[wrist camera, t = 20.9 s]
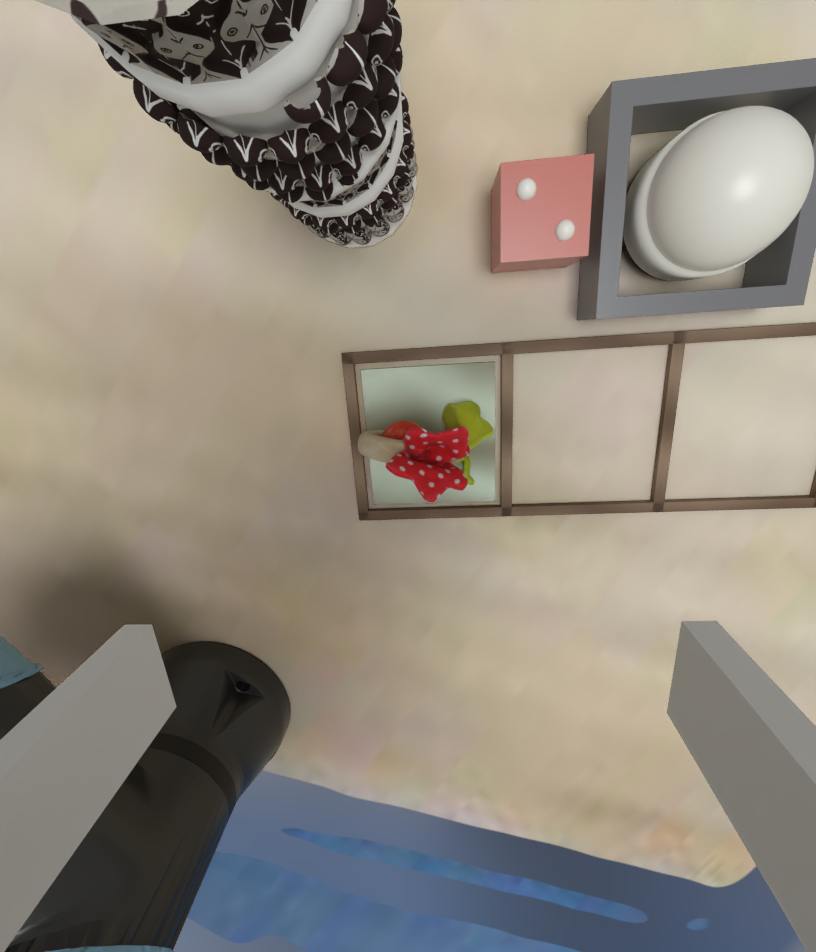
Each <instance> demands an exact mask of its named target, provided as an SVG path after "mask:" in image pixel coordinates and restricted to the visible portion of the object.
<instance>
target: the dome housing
mask: <svg viewBox="0 0 816 952" xmlns="http://www.w3.org/2000/svg"><path fill="white" fill-rule="evenodd" d="M745 106H767V107H772V108H776V109H779V110H782V111H784V112H786V113H788V114H790V115H791V116H792V117H794V118H795V119H796V120H797V121H798V122H799V123H800V124H801V125H802V126H803V127H804V129H805V130H806V132H807V133H808V135H809V138H810V140H811V143H812V146H813V151H814V173H813V178H812V182H811V186H810V189H809V192H808V195H807V197H806V199H805V201H804V203H803V205H802V207H801V209H800V211H799V212H798V214H797V215H796V217H795V218H794V220H793V221H792V222H791V223H790V225H789V226H788V227H787V229H786V230H785V231H784V232H783V233H782V234H781V235H780V236H779V237H778V238H777V239H776V240H775V241H773V242H772V243H771V244H770V245H769V246H767V247H766V248H765V249H764V250H762V251H761V252H759V253H758V254H756V255H755V256H754V257H752V258H751V259H750V260H748V261H747V263H746V269H745V275H744V281H743V287H742V288H734V289H721V290H707V291H693V292H679V293H665V294H651V295H637V296H623V297H618V287H619V275H620V263H621V251H622V238H623V226H624V214H625V202H626V190H627V178H628V165H629V153H630V141H631V135H632V134H641V133H651V132H661V131H670V130H680V129H686V128H687V127H689V126H690V125H692V124H693V123H695V122H697V121H698V120H700V119H702V118H704V117H707V116H709V115H712V114H715V113H718V112H722V111H727V110H731V109H734V108H739V107H745ZM815 248H816V58H811V59H803V60H794V61H785V62H777V63H768V64H759V65H751V66H742V67H734V68H725V69H716V70H708V71H699V72H690V73H682V74H673V75H664V76H656V77H647V78H638V79H630V80H621V81H612V83H611V84H610V86H609V87H608V88H607V90H606V91H605V93H604V94H603V96H602V97H601V99H600V100H599V102H598V103H597V105H596V106H595V107H594V109H593V110H592V112H591V113H590V115H589V116H588V133H587V151H586V154H585V155H575V156H565V157H555V158H545V159H535V160H525V161H516V162H506V163H501V164H500V167H499V170H498V173H497V175H496V178H495V181H494V184H493V187H492V190H491V273H500V272H513V271H525V270H538V269H551V268H563V267H567V266H569V265H571V264H573V263H575V262H577V261H579V260H580V277H579V295H578V313H577V320H590V319H604V318H619V317H634V316H649V315H663V314H678V313H693V312H708V311H723V310H737V309H752V308H767V307H782V306H796V305H804V300H805V295H806V291H807V286H808V281H809V276H810V272H811V267H812V262H813V257H814V252H815Z"/></svg>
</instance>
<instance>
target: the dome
mask: <svg viewBox="0 0 816 952" xmlns="http://www.w3.org/2000/svg"><path fill="white" fill-rule="evenodd" d="M813 173H814V151H813V146H812V143H811V140H810V138H809V135H808V133H807V132H806V130H805V129H804V127H803V126H802V125H801V124H800V123H799V122H798V121H797V120H796V119H795V118H794V117H792V116H791V115H790V114H788V113H786V112H784V111H782V110H779V109H776V108H772V107H767V106H745V107H739V108H734V109H731V110H727V111H722V112H718V113H715V114H712V115H709V116H707V117H704V118H702V119H700V120H698V121H697V122H695V123H693V124H692V125H690V126H689V127H687V128H686V129H685V130H684V131H682V132H681V133H680V134H679V135H677V136H676V137H675V138H674V139H673V140H671V141H670V142H669V143H668V144H667V145H665V146H664V147H663V148H662V149H660V150H659V151H658V152H657V153H656V154H654V155H653V156H652V157H651V158H650V159H649V160H648V161H647V162H646V163H645V165H644V166H643V167H642V168H641V170H640V171H639V173H638V174H637V176H636V177H635V179H634V181H633V183H632V185H631V186H630V189H629V191H628V194H627V196H626V202H625V214H624V226H623V238H624V242H625V245H626V248H627V250H628V252H629V254H630V256H631V258H632V259H633V260H634V262H635V263H636V264H637V265H638V266H639V267H640V268H641V269H642V270H643V271H645V272H646V273H648V274H649V275H652V276H654V277H656V278H659V279H663V280H668V281H683V280H690V279H695V278H700V277H705V276H710V275H715V274H719V273H723V272H726V271H729V270H731V269H734V268H736V267H738V266H740V265H742V264H743V263H745V262H747V261H748V260H750V259H751V258H752V257H754V256H755V255H756V254H758V253H759V252H761V251H762V250H764V249H765V248H766V247H767V246H769V245H770V244H771V243H772V242H773V241H775V240H776V239H777V238H778V237H779V236H780V235H781V234H782V233H783V232H784V231H785V230H786V229H787V227H788V226H789V225H790V223H791V222H792V221H793V220H794V218H795V217H796V215H797V214H798V212H799V211H800V209H801V207H802V205H803V203H804V201H805V199H806V197H807V195H808V192H809V189H810V186H811V182H812V178H813Z"/></svg>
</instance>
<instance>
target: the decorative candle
mask: <svg viewBox="0 0 816 952" xmlns="http://www.w3.org/2000/svg"><path fill="white" fill-rule="evenodd" d="M36 1H38V2H41V3H43V4H46V5H49V6H51V7H54V8H56V9H59V10H62V11H64V12H67V13H69V14H71V16H72V18H73V19H74V21H75V22H76V23H77V24H78V25H79V26H80V27H81V28H83V29H84V30H85V31H86V32H87V33H88V34H89V35H90V36H91V37H92V38H93V39H94V40H95V41H96V42H97V43H98V45H99V47H100V50H101V52H102V54H103V56H104V58H105V59H106V61H107V62H108V64H109V65H110V66H111V67H112V68H113V69H114V70H115V71H116V72H117V73H118V74H119V75H121V76H123V77H125V78H128V79H134V81H133V90H134V94H135V97H136V99H137V101H138V103H139V104H140V106H141V107H142V108H143V109H144V110H145V112H146V113H147V114H149V115H150V116H151V117H152V118H154V119H155V120H157V121H159V122H162V123H166V124H167V125H168V126H169V127H170V128H171V129H172V130H173V131H175V132H177V133H178V134H180V136H181V138H182V140H183V141H184V142H185V143H186V144H187V145H188V146H190V147H191V148H193V149H195V150H197V151H200V152H201V153H202V155H203V156H204V157H205V159H206V160H207V161H209V162H210V163H213V164H216V165H229V166H231V167H232V170H233V172H234V173H235V174H236V176H238V177H239V178H240V179H242V180H245V181H246V182H247V183H248V185H249V186H250V187H251V188H253V189H256V190H266V191H269V192H271V195H272V196H273V198H275V199H276V200H278V201H280V202H282V204H283V205H284V206H285V207H287V208H289V210H290V212H291V214H292V215H293V216H294V217H295V218H296V219H300V220H301V222H302V223H303V224H304V225H307V226H308V227H309V229H310V230H311V231H312V232H314V233H316V234H317V235H318V236H319V237H321V238H325V239H326V240H328V241H331V242H334V243H336V244H339V245H342V246H344V247H347V248H357V247H370V246H374V245H375V244H377V243H379V242H381V241H382V240H384V239H386V238H388V237H389V236H391V235H393V234H394V233H395V231H396V230H397V229H398V227H399V226H400V225H401V223H402V222H403V221H404V220H405V218H406V217H407V216H408V214H409V212H410V208H411V205H412V202H413V199H414V195H415V192H416V189H417V176H416V173H417V164H416V155H415V153H414V151H413V149H414V145H415V144H414V140H413V130H412V128H411V126H410V116H409V113H408V110H409V106H408V101H407V99H406V97H405V95H404V94H403V93H402V92H401V79H400V70H401V68H402V58H403V56H402V50H401V46H400V42H401V36H402V25H401V20H400V17H399V14H398V12H397V10H396V9H395V8H394V7H393V6H394V3H395V0H36Z"/></svg>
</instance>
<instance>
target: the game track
mask: <svg viewBox="0 0 816 952" xmlns="http://www.w3.org/2000/svg"><path fill="white" fill-rule="evenodd" d="M810 335H816V323H802V324H787V325H771V326H756V327H740V328H724V329H709V330H693V331H678V332H662V333H646V334H631V335H615V336H600V337H584V338H569V339H553V340H537V341H522V342H506V343H491V344H475V345H460V346H444V347H428V348H413V349H397V350H382V351H366V352H351V353H341V354H342V364H343V373H344V382H345V391H346V400H347V409H348V419H349V428H350V437H351V446H352V455H353V465H354V474H355V483H356V492H357V501H358V511H359V520H390V519H425V518H461V517H496V516H532V515H567V514H602V513H638V512H673V511H709V510H744V509H779V508H815V507H816V473H815V477H814V481H813V485H812V489H811V493H810V496H777V497H745V498H712V499H679V500H664V499H665V492H666V484H667V477H668V469H669V462H670V454H671V446H672V439H673V431H674V424H675V416H676V409H677V401H678V393H679V386H680V378H681V371H682V363H683V356H684V348H685V343H697V342H713V341H729V340H746V339H762V338H778V337H794V336H810ZM665 344H669V353H668V361H667V369H666V377H665V386H664V394H663V402H662V410H661V419H660V427H659V435H658V443H657V452H656V460H655V468H654V476H653V485H652V493H651V500H647V501H614V502H581V503H549V504H516V505H512V429H513V354H519V353H535V352H551V351H567V350H584V349H600V348H616V347H632V346H648V345H665ZM486 355H501V505H483V506H451V507H418V508H385V509H369V504H368V494H367V484H366V474H365V464H364V456H363V455H361V454H360V452H359V451H358V439H359V436H360V434H361V424H360V414H359V404H358V395H357V385H356V375H355V365H354V364H357V363H373V362H389V361H406V360H422V359H438V358H454V357H470V356H486ZM361 377H362V388H363V398H364V408H365V419H366V429H367V431H372V430H385V429H386V428H387V427H388V426H390V425H391V424H393V423H396V422H399V421H409V422H413V423H416V424H418V425H419V426H421V427H422V428H423V429H425V430H426V431H428V432H431V433H439V432H442V431H445V430H447V429H446V427H445V425H444V422H443V420H442V415H443V412H444V409H445V407H446V406H447V405H448V404H449V403H452V404H454V405H456V404H459V403H462V402H466V401H472V402H474V403H475V404H477V405H478V406H479V407H480V411H481V413H480V417H481V418H482V419H484V420H486V421H487V422H489V423H490V425H491V426H492V428H493V435H492V436H491V437H490V438H487V439H484V440H482V441H481V442H480V443H479V444H477V445H476V446H475V447H474V448H472V449H471V450H470V453H469V455H468V456H469V458H470V460H471V467H470V476H471V477H472V478H473V479H474V484H473V485H469V484H467V486H466V488H465V489H464V490H463V491H460V490H455V489H452V488H448V489H447V490H446V491H445V492H443V494H442V495H441V496H440V497H439V498H438V499H437V500H436V501H435V502H428V501H426V500H424V498H423V497H422V496H421V494H420V493H419V491H418V490H417V488H416V486H415V484H414V483H413V481H411V480H410V479H405V478H402V477H398V476H395V475H393V474H392V473H391V472H390V471H389V470H388V469H387V468H386V463H385V462H380V461H376V460H373V459H370V458H369V460H370V471H371V481H372V492H373V502H374V505H380V504H412V503H444V502H476V501H495V362H479V363H462V364H446V365H429V366H413V367H396V368H380V369H363V370H361ZM455 466H456V467H458V468H460V469H461V470H462V468H463V464H462V463H461V462H460V463H458V464H456V465H455Z"/></svg>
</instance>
